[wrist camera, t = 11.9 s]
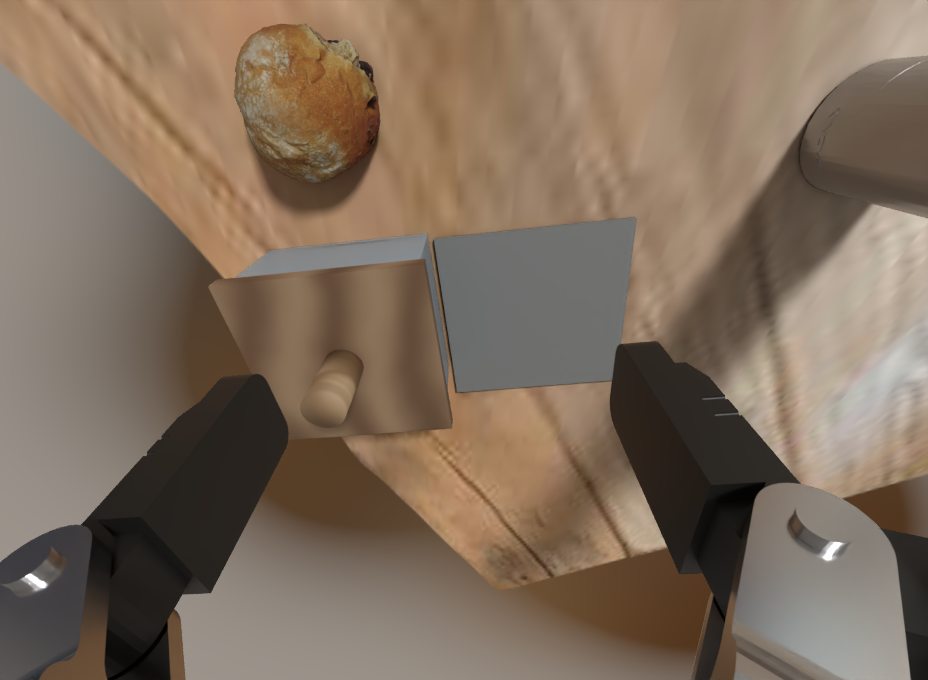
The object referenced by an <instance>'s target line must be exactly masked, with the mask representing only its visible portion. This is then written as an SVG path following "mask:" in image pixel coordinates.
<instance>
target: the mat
mask: <svg viewBox="0 0 928 680" xmlns="http://www.w3.org/2000/svg"><path fill="white" fill-rule="evenodd" d="M635 227H636V218H635V217H632V218H622V219H613V220H603V221H594V222H584V223H575V224H565V225H556V226H546V227H537V228H527V229H518V230H508V231H499V232H489V233H480V234H470V235H461V236H451V237H442V238H434V245H435V251H436V258H437V264H438V271H439V277H440V284H441V290H442V297H443V303H444V310H445V316H446V323H447V330H448V336H449V343H450V349H451V356H452V362H453V369H454V375H455V382H456V388H457V392H470V391H483V390H496V389H509V388H521V387H534V386H547V385H560V384H572V383H585V382H598V381H611V380H612V377H613V369H614V360H615V353H616V349H617V346H618V345H619V344H621V338H622V330H623V322H624V314H625V306H626V298H627V290H628V283H629V275H630V267H631V259H632V251H633V243H634V235H635Z"/></svg>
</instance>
